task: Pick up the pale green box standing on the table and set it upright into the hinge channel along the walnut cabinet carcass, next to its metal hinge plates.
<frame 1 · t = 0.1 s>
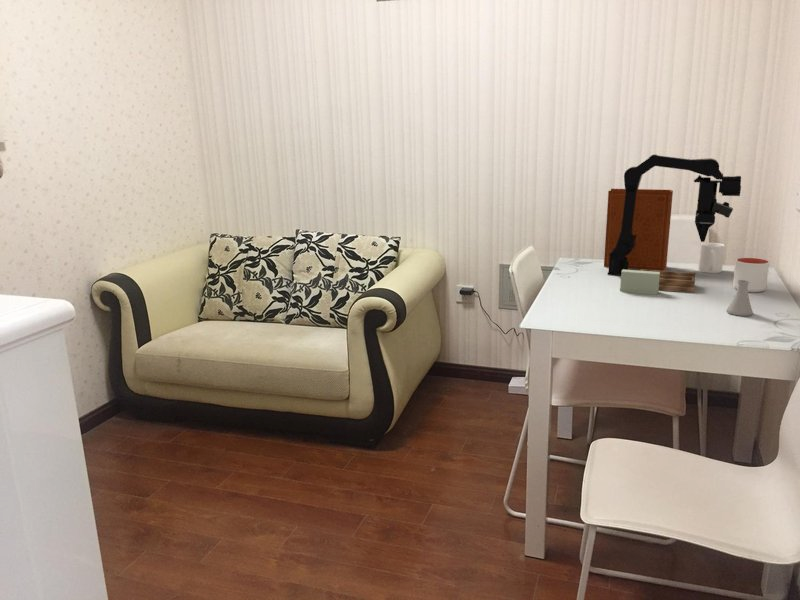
hand: (702, 239, 237), 15 cm above the table, fingers open, 9 cm apart
pale green box: (639, 291, 226), on the table
carcass: (665, 286, 232), on the table
mug: (710, 272, 252), on the table
book: (635, 267, 264), on the table
cup: (748, 290, 226), on the table
flask: (739, 314, 200), on the table
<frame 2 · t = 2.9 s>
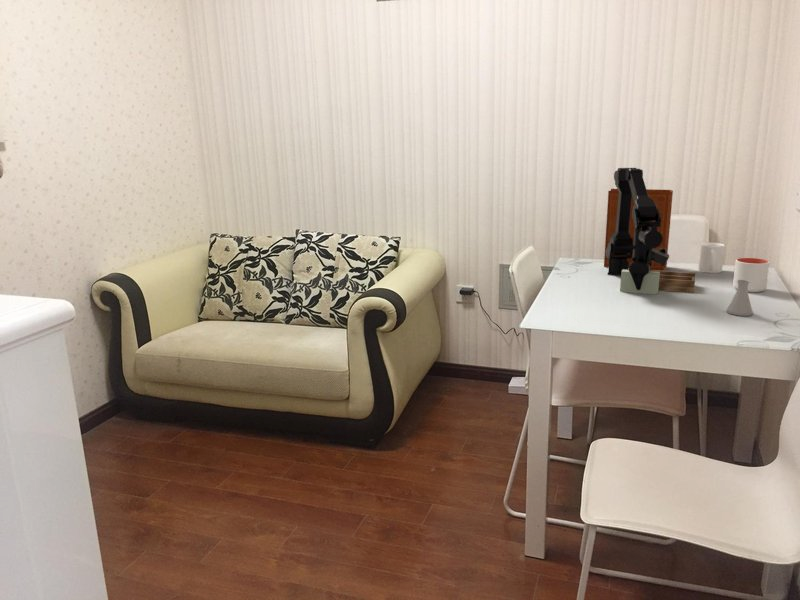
hand: (639, 287, 227), 1 cm above the table, fingers open, 7 cm apart
nothing on the table moved.
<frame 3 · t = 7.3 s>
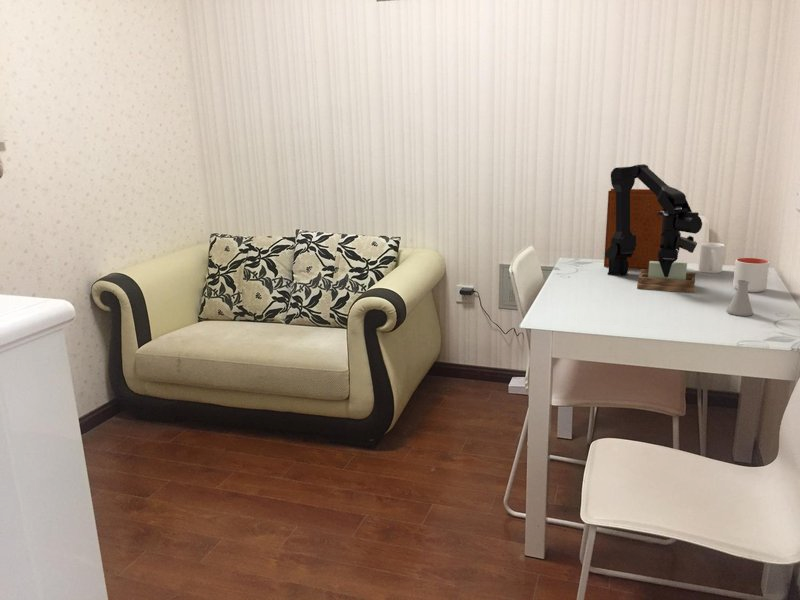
hand: (666, 274, 230), 5 cm above the table, fingers open, 9 cm apart
pale green box: (666, 282, 231), point 1 cm above the table, touching carcass
everything else where it was.
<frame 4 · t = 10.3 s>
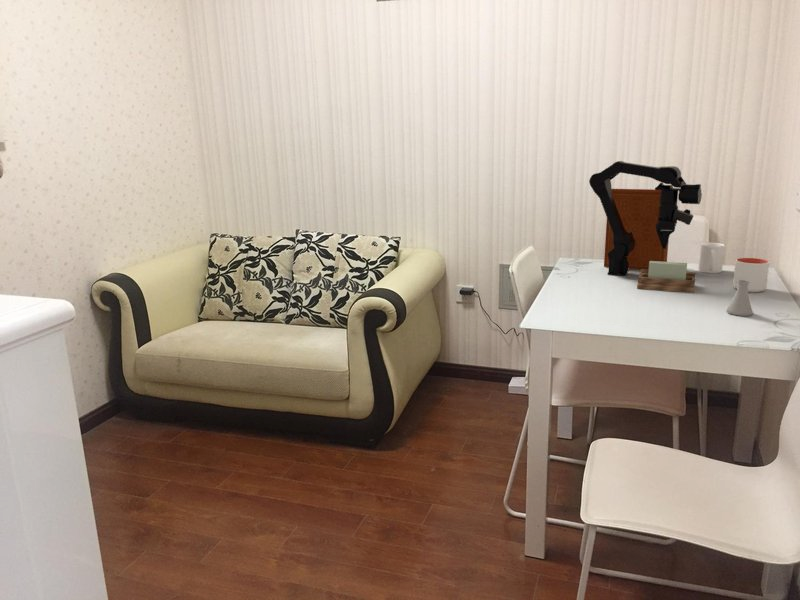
hand: (664, 246, 240), 12 cm above the table, fingers open, 9 cm apart
nothing on the table moved.
at the end: pale green box 0.0 cm off-centre on the carcass, point 1.5 cm above the carcass's base; pale green box tilted 0°; the gripper is holding nothing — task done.
